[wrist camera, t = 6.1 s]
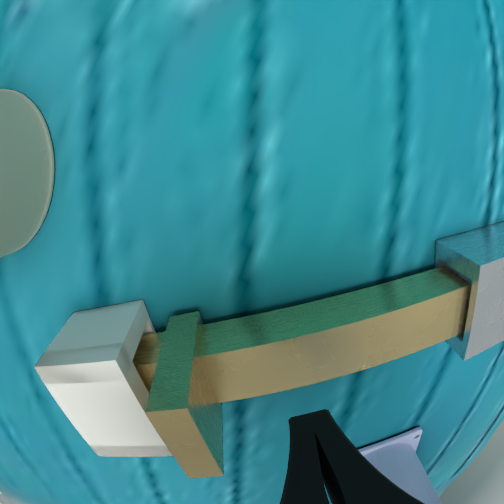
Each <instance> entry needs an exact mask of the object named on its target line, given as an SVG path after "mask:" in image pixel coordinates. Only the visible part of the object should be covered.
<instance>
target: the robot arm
mask: <svg viewBox="0 0 504 504" xmlns="http://www.w3.org/2000/svg"><path fill="white" fill-rule="evenodd" d="M289 426H290V452H289V461H288V469H287V475H286V480H285V485H284V489H283V494H282V498H281V501H280V504H329V501H328V498H327V495H326V491H325V488H324V484H325V487H326V489H327V492H328V495H329V497H330V500H331V502H332V504H442V503H441V501H440V499H439V497H438V495H437V493H436V491H435V489H434V487H433V485H432V483H431V481H430V479H429V477H428V475H427V474H426V472H425V470H424V468H423V466H422V464H421V462H420V460H419V458H418V457H417V455H416V453H415V452H416V449H417V447H418V444H419V441H420V438H421V434H422V431H423V430H422V428H421V427H417V428H415V429H413V430H410V431H408V432H405V433H403V434H400V435H398V436H395V437H392V438H390V439H387V440H384V441H382V442H379V443H376V444H373V445H370V446H367V447H364V448H361V449H358V450H357V448H356V447H355V446H354V445H353V444H352V443H351V442H350V440H349V439H348V438H347V437H346V436H345V434H344V433H343V432H342V430H341V429H340V428H339V426H338V425H337V423H336V422H335V420H334V419H333V417H332V416H331V414H330V412H329V410H326V409H324V410H320V411H316V412H312V413H308V414H304V415H300V416H295V417H291V418H290V419H289ZM323 482H324V483H323Z"/></svg>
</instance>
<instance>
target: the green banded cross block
mask: <svg viewBox="0 0 504 504" xmlns="http://www.w3.org/2000/svg"><path fill="white" fill-rule="evenodd" d="M471 285H472V284H471V283H469V282H468V281H466V280H465V279H463V278H462V277H461V276H459V275H458V274H456V273H455V272H453V271H452V270H450V269H449V268H447V267H446V266H441V267H438V268H435V269H431V270H428V271H425V272H421V273H418V274H414V275H411V276H408V277H404V278H401V279H397V280H393V281H390V282H386V283H383V284H379V285H375V286H372V287H368V288H364V289H360V290H357V291H353V292H349V293H345V294H341V295H337V296H333V297H329V298H325V299H321V300H317V301H312V302H308V303H304V304H300V305H295V306H291V307H287V308H282V309H278V310H273V311H269V312H264V313H259V314H255V315H250V316H245V317H240V318H235V319H230V320H225V321H220V322H215V323H209V324H204V325H203V323H202V319H201V316H200V313H199V311H196V312H191V313H186V314H181V315H175V316H170V317H169V321H168V324H167V328H166V331H165V332H159V333H152V334H146V335H142V336H141V339H140V342H139V344H138V347H137V350H136V353H135V355H134V358H133V361H132V362H133V364H134V366H135V368H136V370H137V372H138V374H139V376H140V378H141V379H142V381H143V383H144V385H145V387H146V389H147V391H148V393H149V397H148V401H147V405H146V410H145V413H146V415H147V416H148V418H149V420H150V421H151V423H152V424H153V426H154V428H155V429H156V431H157V432H158V434H159V435H160V437H161V439H162V440H163V442H164V443H165V445H166V446H167V448H168V449H169V450H170V452H171V453H172V455H173V456H174V458H175V459H176V461H177V462H178V463H179V465H180V466H181V467H182V469H183V470H184V472H185V473H186V474H187V476H188V477H189V478H201V477H213V476H223V475H224V465H223V425H222V402H228V401H234V400H240V399H246V398H251V397H256V396H262V395H267V394H272V393H276V392H281V391H286V390H290V389H294V388H299V387H303V386H307V385H311V384H315V383H319V382H323V381H326V380H330V379H334V378H337V377H341V376H345V375H348V374H351V373H355V372H358V371H361V370H365V369H368V368H371V367H374V366H377V365H380V364H383V363H386V362H389V361H392V360H395V359H398V358H401V357H403V356H406V355H409V354H412V353H414V352H417V351H420V350H422V349H425V348H427V347H430V346H433V345H435V344H437V343H440V342H442V341H445V340H447V339H450V338H452V337H454V336H457V335H459V334H461V333H463V332H464V331H465V325H466V320H467V314H468V307H469V300H470V293H471Z"/></svg>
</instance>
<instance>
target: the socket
mask: <svg viewBox="0 0 504 504" xmlns="http://www.w3.org/2000/svg"><path fill="white" fill-rule="evenodd" d="M152 333H156V332H155V330H154V327H153V325H152V322H151V319H150V317H149V314H148V312H147V309H146V306H145V304H144V301H143V300H138V301H133V302H127V303H122V304H117V305H111V306H106V307H100V308H95V309H89V310H84V311H78V312H74V313H73V314H72V315H71V316H70V318H69V319H68V320H67V322H66V323H65V324H64V326H63V327H62V328H61V330H60V331H59V332H58V334H57V335H56V337H55V338H54V339H53V341H52V342H51V343H50V345H49V346H48V348H47V349H46V350H45V352H44V353H43V355H42V356H41V358H40V359H39V360H38V362H37V363H36V365H35V366H34V368H35V369H36V371H37V373H38V374H39V376H40V378H41V379H42V381H43V382H44V384H45V385H46V387H47V388H48V390H49V392H50V393H51V395H52V396H53V397H54V399H55V400H56V402H57V403H58V405H59V406H60V408H61V409H62V410H63V412H64V413H65V415H66V416H67V417H68V419H69V420H70V421H71V423H72V424H73V425H74V427H75V428H76V429H77V430H78V432H79V433H80V434H81V435H82V437H83V438H84V439H85V440H86V442H87V443H88V444H89V445H90V446H91V448H92V449H93V450H94V451H95V452H96V454H97V455H98V456H110V457H158V456H173V455H172V453H171V452H170V450H169V449H168V448H167V446H166V445H165V443H164V442H163V440H162V439H161V437H160V435H159V434H158V432H157V431H156V429H155V428H154V426H153V424H152V423H151V421H150V420H149V418H148V416H147V415H146V413H145V410H146V405H147V401H148V397H149V393H148V391H147V389H146V387H145V385H144V383H143V381H142V379H141V378H140V376H139V374H138V372H137V370H136V368H135V366H134V364H133V362H132V361H133V358H134V355H135V353H136V350H137V347H138V344H139V342H140V339H141V336H142V335H146V334H152Z"/></svg>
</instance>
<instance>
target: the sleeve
mask: <svg viewBox="0 0 504 504" xmlns="http://www.w3.org/2000/svg"><path fill="white" fill-rule="evenodd" d="M441 266H446V267H447V268H449V269H450V270H452V271H453V272H455V273H456V274H458V275H459V276H461V277H462V278H463V279H465V280H466V281H468V282H469V283H471V284H472V285H471V293H470V300H469V307H468V314H467V320H466V325H465V331H464V332H463V333H461V334H459V335H457V336H454V337H452V338H450V339H447V340H445V341H446V342H447V343H448V344H449V345H450V346H451V348H452V349H453V350H454V351H455V352H456V353H457V354H458V355H459V356H460V357H461V358H462V359H463V360H464V361H465V360H467V359H469V358H471V357H473V356H475V355H477V354H479V353H481V352H483V351H485V350H486V349H488V348H490V347H492V346H494V345H496V344H498V343H499V342H501V341H503V340H504V222H500V223H496V224H493V225H489V226H486V227H482V228H478V229H475V230H471V231H467V232H464V233H460V234H456V235H452V236H449V237H445V238H441V239H437V240H436V244H435V268H438V267H441Z"/></svg>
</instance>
